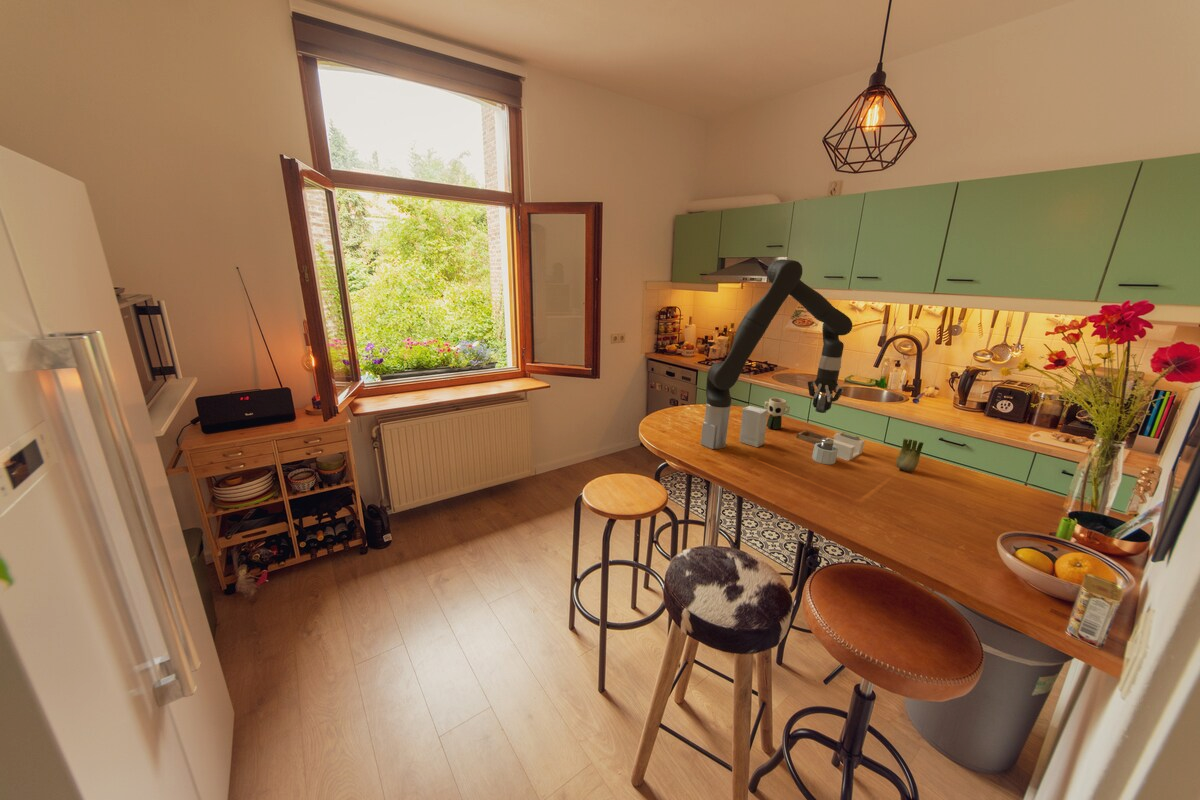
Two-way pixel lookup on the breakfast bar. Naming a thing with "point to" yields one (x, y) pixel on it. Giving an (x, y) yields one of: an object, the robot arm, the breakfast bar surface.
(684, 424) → the breakfast bar surface
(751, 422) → the skincare box
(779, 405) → the character mug
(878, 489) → the breakfast bar surface
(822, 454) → the white faceted round pot
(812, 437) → the trough
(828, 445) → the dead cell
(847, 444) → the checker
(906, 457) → the fennel bulb
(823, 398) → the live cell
